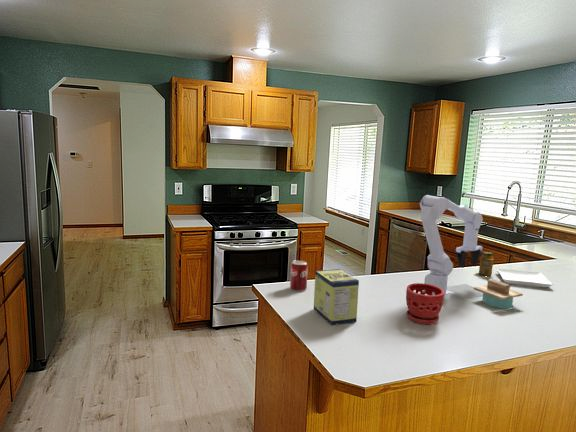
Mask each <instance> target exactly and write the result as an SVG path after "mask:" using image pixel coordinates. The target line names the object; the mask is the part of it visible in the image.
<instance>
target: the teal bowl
mask: <svg viewBox="0 0 576 432" xmlns="http://www.w3.org/2000/svg"><path fill="white" fill-rule="evenodd" d="M481 300H482V301H481V302H483V304H485V305H488V306H490V307H493V308H498V309H505V310H511V309H512V308H513V303H514V297H513V298H507V299H502V300H501V299H498V298H496V297H493V296H490V295H488V294H485V293H483V296H482V299H481Z"/></svg>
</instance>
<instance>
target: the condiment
mask: <svg viewBox="0 0 576 432" xmlns="http://www.w3.org/2000/svg"><path fill="white" fill-rule="evenodd" d="M482 252H483V254H482V255H481V256H480V258H479V259H480V260H479V267H478V268H479V269H478V272H477V273H473V275H475V276H478V277H481V278H487V279H490V278H491V277H494V276H495V275H494V274H492V273H493V265H494V253H493V252H490V251H482ZM485 276H487V277H485ZM490 276H491V277H490Z"/></svg>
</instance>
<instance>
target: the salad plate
mask: <svg viewBox="0 0 576 432" xmlns="http://www.w3.org/2000/svg"><path fill="white" fill-rule="evenodd" d="M495 270H496V272H497V274H498V275H500V276H501V278H502V280H503V281H504V283H505V284H508V285H514V286H523V287H532V288H533V287H534V288H548V287H549V288H550V287H551V286H553V283H552V282H551V281H550V280H549V279H548V278H547V277H546V276H545V275H544V274H543V273H542V272H538V271H530V270H529V271H528V270H523V269H522V270H520V269H519V270H518V269H507V268H495Z"/></svg>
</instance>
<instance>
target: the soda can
mask: <svg viewBox="0 0 576 432" xmlns="http://www.w3.org/2000/svg"><path fill="white" fill-rule="evenodd" d="M308 265H309V264H308V262H307V261H305V260H292V261H291V263H290V280H289V281H290V282H289V283H290V284H289V287H290V290H291V291H294V292H305V291H306V290H307V288H308V287H307V286H308V270H309V269H308V268H309V266H308Z"/></svg>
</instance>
